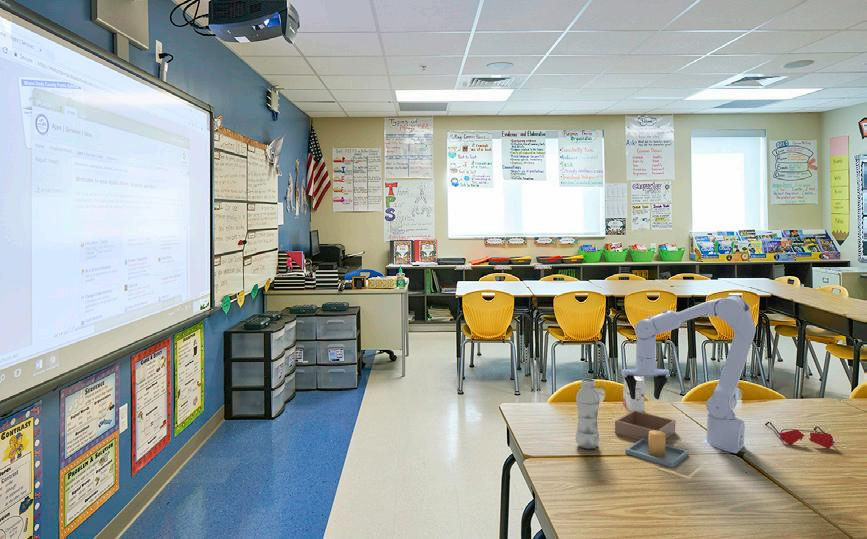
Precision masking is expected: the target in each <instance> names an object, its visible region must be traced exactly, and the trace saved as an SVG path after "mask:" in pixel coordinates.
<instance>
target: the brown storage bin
mask: <svg viewBox="0 0 867 539" xmlns="http://www.w3.org/2000/svg"><path fill="white" fill-rule="evenodd" d="M676 422H677V421H676V420H675V419H671V418H667V417H663V416H661V415H660V416H658V415H657V414H656V415H655V414H651V413H647V412H645V411H636V410H634V411H630V412H628V413H626V414H625V415H623V416H621V417H619V418H617V419H616V420H615V421H614V433H615V434H616V435H621V436H623V437H628V438H632V439H635V440H637V441H639V440H640V439H642V438H644V439H648V440H649V431H651V430H657V431H662V432H664V433H665V434H666V440H668V439H669V438H670V437H672V436H673V435H674V434H676Z"/></svg>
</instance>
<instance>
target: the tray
mask: <svg viewBox="0 0 867 539" xmlns="http://www.w3.org/2000/svg"><path fill="white" fill-rule="evenodd" d="M648 441H649V440H648V439H644V438H642V439H640V440H637V441H636V442H634V443H633V444H630V446H628V447H627V448H625V454H626V455H629V456H633V457H636V458H639V459H642V460H645V461H650V462H652V463H655V464H658V465H662V466H664V467H668V468H670V469H673V468H674V467H676V466H677V465H679V464H680V462H682V461H683V460H684V459H685V458H687V457H688V456H689V450H686V449H682V448H679V447H676V446H672V445H668V444H665V456H664V457H654V456H651V455H649V454H648Z"/></svg>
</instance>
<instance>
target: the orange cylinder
mask: <svg viewBox="0 0 867 539" xmlns="http://www.w3.org/2000/svg"><path fill="white" fill-rule="evenodd" d="M666 440H667V439H666V434H665V433H664V432H662V431H657V430H651V431H649V441H648V454H649V455H651V456H654V457H664V456H665V445H666Z"/></svg>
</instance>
